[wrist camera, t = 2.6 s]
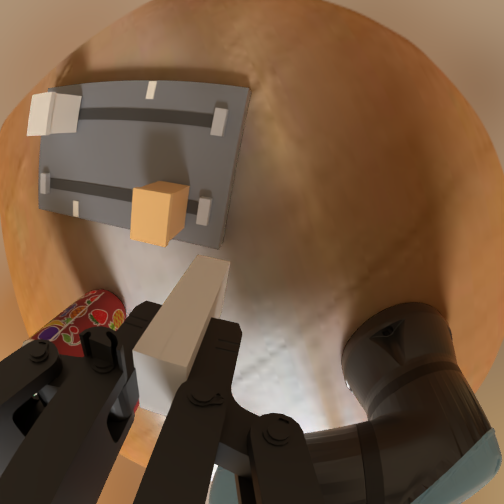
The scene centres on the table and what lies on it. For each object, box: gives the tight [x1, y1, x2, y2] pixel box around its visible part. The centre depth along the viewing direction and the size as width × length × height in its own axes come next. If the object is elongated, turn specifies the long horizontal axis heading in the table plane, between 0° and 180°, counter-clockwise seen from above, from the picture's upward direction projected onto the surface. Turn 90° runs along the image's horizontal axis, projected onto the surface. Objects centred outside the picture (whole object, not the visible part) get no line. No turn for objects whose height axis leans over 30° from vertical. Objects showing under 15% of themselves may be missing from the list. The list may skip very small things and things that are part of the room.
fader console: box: [39, 80, 251, 249], centre depth 25 cm, size 24×15×3 cm, turn 79°
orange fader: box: [130, 181, 190, 247], centre depth 23 cm, size 3×4×5 cm
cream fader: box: [27, 92, 82, 136], centre depth 20 cm, size 3×4×5 cm
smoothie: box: [22, 289, 126, 396], centre depth 24 cm, size 8×8×20 cm
